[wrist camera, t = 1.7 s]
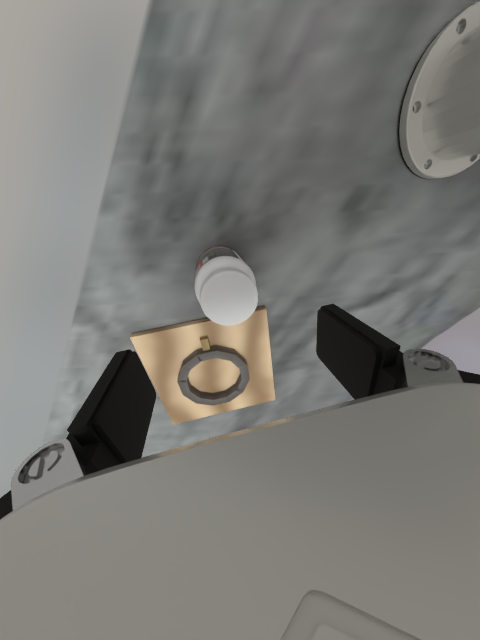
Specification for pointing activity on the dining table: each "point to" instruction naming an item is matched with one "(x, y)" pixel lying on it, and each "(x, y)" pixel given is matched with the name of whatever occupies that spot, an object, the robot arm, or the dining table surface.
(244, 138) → the dining table surface
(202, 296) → the pill bottle
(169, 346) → the socket board
